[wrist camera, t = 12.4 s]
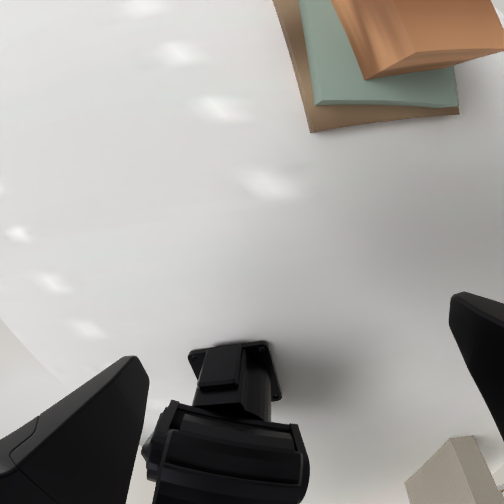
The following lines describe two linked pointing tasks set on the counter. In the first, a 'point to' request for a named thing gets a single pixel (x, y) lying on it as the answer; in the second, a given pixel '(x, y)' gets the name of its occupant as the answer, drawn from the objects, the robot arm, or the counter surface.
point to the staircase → (455, 477)
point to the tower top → (349, 74)
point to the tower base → (336, 114)
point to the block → (418, 33)
